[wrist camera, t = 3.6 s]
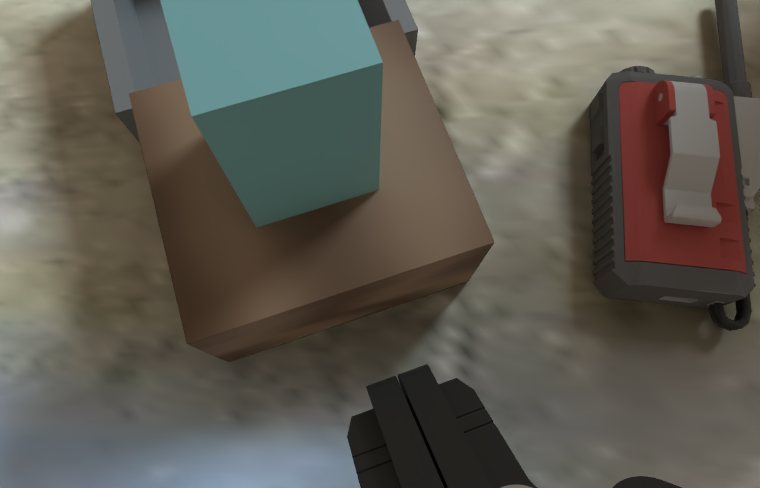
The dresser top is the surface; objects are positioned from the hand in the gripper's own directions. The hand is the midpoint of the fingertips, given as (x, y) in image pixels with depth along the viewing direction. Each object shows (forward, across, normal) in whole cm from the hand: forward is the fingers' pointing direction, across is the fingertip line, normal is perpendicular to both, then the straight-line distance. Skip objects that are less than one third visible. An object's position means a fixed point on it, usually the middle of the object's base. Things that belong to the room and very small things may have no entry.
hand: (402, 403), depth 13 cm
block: (+12, 0, -3) cm, 12 cm away
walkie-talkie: (+15, -19, +4) cm, 25 cm away
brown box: (+16, 0, +2) cm, 16 cm away
